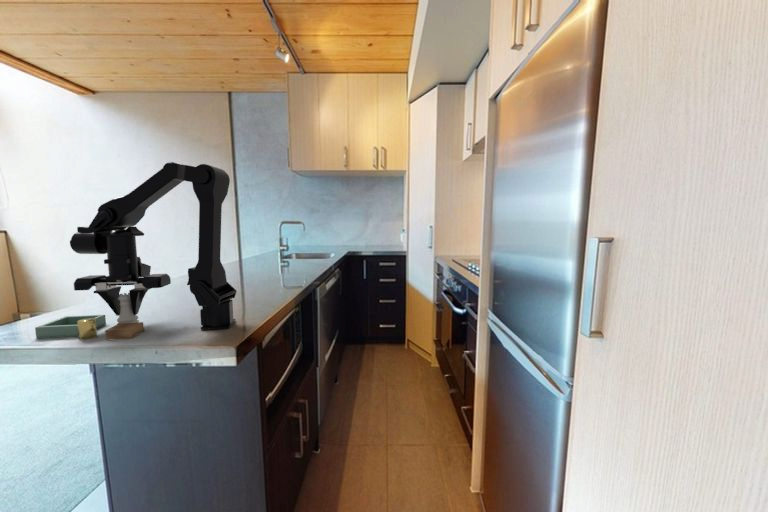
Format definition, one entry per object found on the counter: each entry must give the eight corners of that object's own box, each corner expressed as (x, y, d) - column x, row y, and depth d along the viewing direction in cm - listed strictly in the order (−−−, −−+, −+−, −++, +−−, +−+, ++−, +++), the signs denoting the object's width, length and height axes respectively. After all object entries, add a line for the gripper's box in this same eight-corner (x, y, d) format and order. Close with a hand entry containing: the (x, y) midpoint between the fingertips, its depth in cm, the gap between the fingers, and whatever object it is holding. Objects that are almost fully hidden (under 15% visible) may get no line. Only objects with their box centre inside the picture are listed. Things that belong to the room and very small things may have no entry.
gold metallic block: (100, 334, 73) (98, 317, 73) (91, 339, 70) (89, 321, 70) (85, 335, 73) (83, 318, 72) (75, 340, 70) (73, 322, 69)
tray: (106, 324, 81) (105, 314, 80) (80, 335, 72) (79, 325, 72) (66, 325, 79) (65, 316, 79) (36, 338, 70) (35, 327, 70)
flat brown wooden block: (144, 332, 76) (143, 322, 75) (131, 339, 71) (130, 329, 71) (120, 333, 75) (119, 323, 75) (106, 341, 70) (105, 330, 70)
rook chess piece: (126, 327, 78) (123, 296, 77) (112, 326, 79) (109, 295, 78) (143, 322, 82) (141, 292, 81) (129, 321, 83) (127, 291, 82)
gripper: (178, 250, 88) (181, 305, 90) (101, 251, 84) (106, 308, 86) (157, 255, 77) (162, 316, 79) (68, 256, 74) (75, 320, 75)
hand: (127, 314), depth 80 cm, fingers closed on rook chess piece, 3 cm apart
